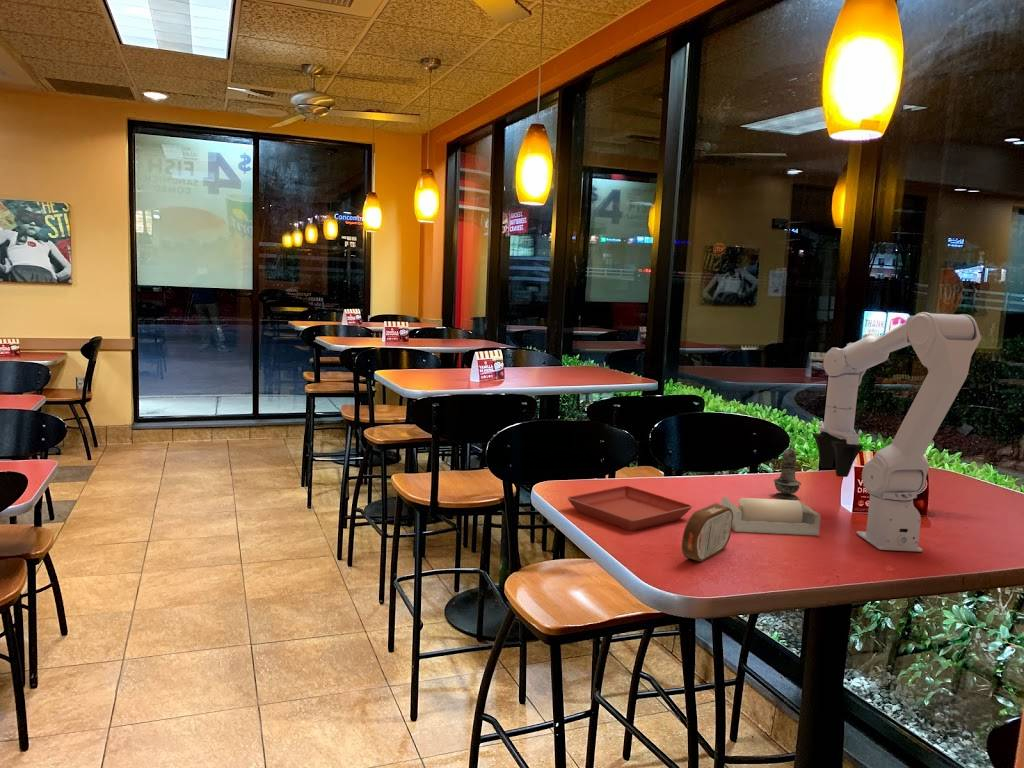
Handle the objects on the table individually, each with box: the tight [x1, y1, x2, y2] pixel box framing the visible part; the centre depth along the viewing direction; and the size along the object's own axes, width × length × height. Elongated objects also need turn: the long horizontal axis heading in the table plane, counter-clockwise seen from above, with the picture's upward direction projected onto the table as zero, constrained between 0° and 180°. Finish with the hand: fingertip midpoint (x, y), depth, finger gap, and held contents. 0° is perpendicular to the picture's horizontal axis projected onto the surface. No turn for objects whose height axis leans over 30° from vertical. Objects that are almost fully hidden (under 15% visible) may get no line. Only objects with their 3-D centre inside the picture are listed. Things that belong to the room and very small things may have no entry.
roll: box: [737, 497, 803, 523], centre depth 150 cm, size 5×12×5 cm, turn 90°
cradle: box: [720, 496, 821, 537], centre depth 150 cm, size 10×16×4 cm, turn 91°
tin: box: [681, 502, 733, 563], centre depth 131 cm, size 15×3×8 cm, turn 141°
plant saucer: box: [567, 485, 693, 531], centre depth 153 cm, size 18×18×3 cm
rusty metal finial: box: [773, 445, 802, 501], centre depth 173 cm, size 6×6×12 cm
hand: (833, 471), depth 159 cm, fingers open, 7 cm apart
